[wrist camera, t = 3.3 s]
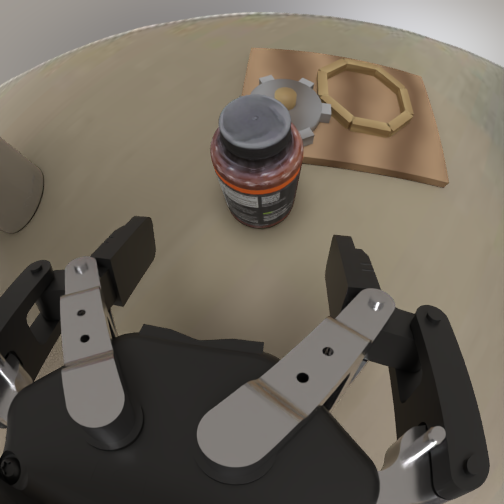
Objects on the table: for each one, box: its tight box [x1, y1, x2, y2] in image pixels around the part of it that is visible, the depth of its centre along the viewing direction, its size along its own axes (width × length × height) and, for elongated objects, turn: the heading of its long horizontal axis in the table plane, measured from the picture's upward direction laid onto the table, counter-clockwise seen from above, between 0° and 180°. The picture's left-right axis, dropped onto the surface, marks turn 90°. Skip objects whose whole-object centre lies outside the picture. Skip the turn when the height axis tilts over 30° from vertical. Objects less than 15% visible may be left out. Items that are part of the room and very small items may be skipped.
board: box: [239, 48, 449, 188], centre depth 26 cm, size 22×16×4 cm
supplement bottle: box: [211, 94, 304, 228], centre depth 20 cm, size 6×6×11 cm
